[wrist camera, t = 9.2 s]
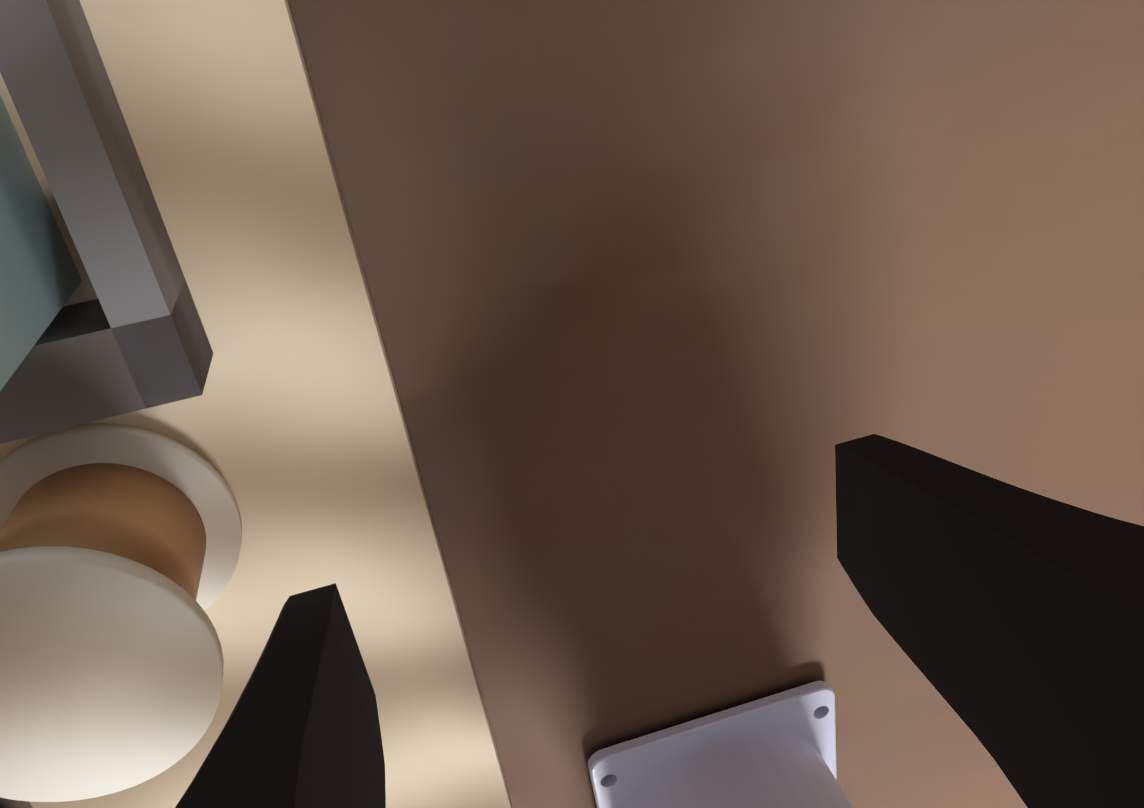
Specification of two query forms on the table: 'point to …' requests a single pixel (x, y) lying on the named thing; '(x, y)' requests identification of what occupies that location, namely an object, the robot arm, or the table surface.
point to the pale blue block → (27, 255)
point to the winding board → (203, 420)
